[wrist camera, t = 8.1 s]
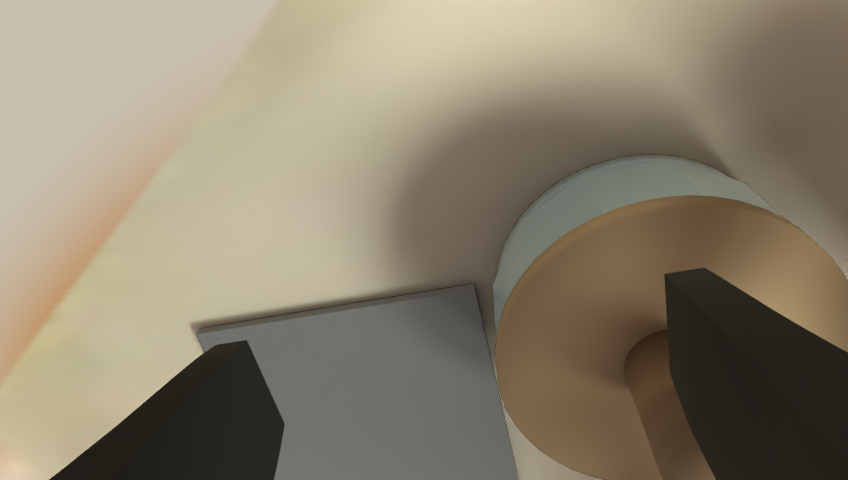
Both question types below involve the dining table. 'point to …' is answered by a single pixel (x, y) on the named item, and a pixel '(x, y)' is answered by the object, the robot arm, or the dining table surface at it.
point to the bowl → (605, 205)
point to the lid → (643, 327)
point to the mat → (382, 389)
